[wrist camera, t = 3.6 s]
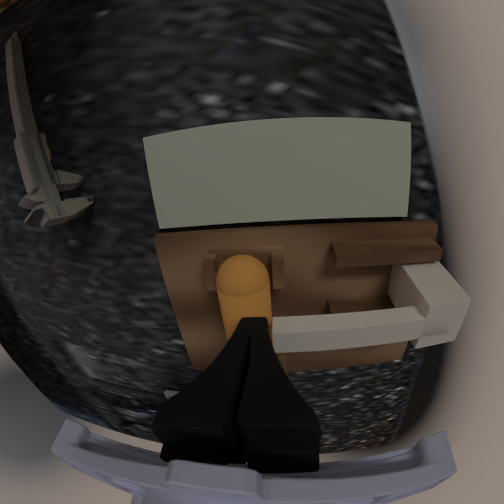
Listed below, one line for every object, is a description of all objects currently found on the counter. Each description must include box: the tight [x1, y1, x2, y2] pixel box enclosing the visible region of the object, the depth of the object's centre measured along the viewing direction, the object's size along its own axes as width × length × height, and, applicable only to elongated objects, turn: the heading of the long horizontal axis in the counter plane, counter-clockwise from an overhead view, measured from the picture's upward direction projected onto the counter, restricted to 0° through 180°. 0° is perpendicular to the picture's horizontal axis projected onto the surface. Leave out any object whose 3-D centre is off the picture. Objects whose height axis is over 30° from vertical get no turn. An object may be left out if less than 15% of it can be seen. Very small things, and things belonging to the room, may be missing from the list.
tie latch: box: [272, 261, 471, 353], centre depth 15 cm, size 3×11×6 cm, turn 95°
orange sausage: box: [216, 255, 273, 344], centre depth 17 cm, size 12×3×3 cm, turn 5°
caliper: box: [5, 31, 94, 227], centre depth 11 cm, size 20×1×6 cm, turn 29°
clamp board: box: [153, 221, 443, 374], centre depth 19 cm, size 13×19×3 cm
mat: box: [143, 117, 411, 229], centre depth 15 cm, size 6×16×1 cm, turn 95°
